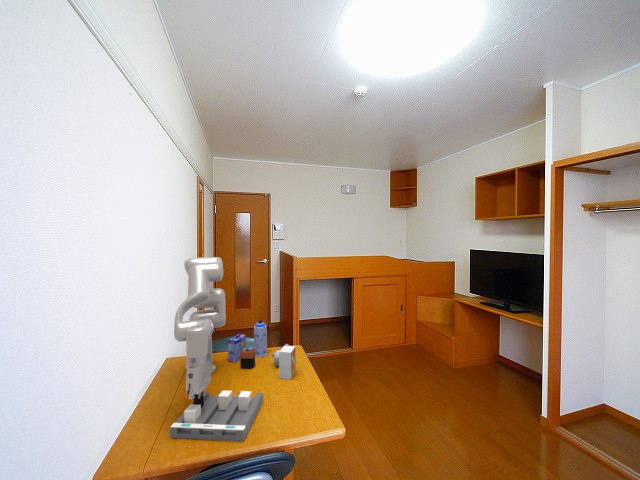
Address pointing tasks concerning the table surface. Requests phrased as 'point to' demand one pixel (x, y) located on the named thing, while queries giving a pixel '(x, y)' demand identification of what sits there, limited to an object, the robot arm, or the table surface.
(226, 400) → the switch tab middle
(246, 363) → the battery
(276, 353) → the voltmeter
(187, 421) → the switch tab left
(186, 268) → the robot arm
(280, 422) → the table surface
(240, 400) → the switch tab right
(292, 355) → the small box
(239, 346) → the ink cartridge box
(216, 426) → the switch panel
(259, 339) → the aerosol can
